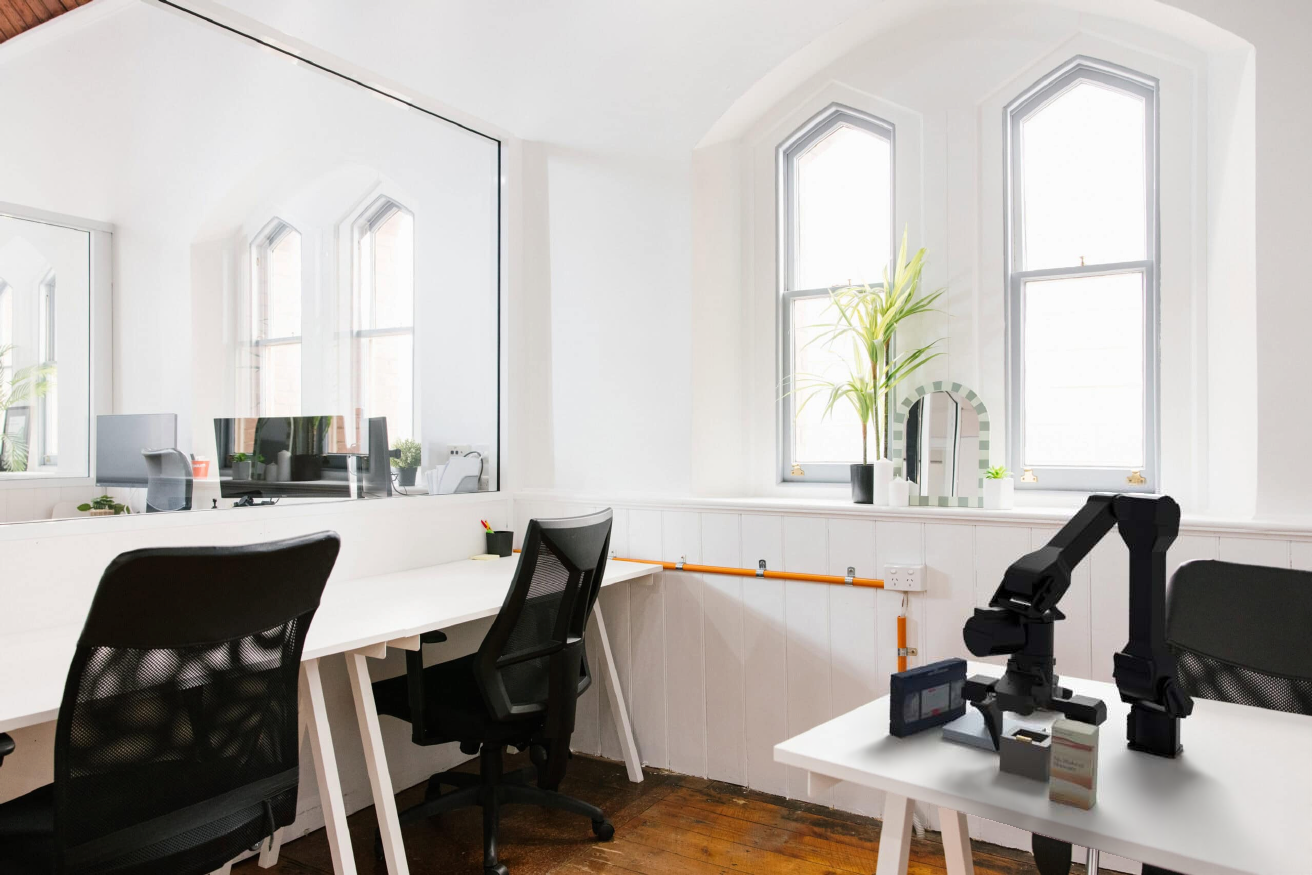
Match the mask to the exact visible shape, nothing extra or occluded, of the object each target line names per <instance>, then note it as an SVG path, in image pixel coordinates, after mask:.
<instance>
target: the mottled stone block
mask: <svg viewBox="0 0 1312 875" xmlns="http://www.w3.org/2000/svg"><path fill="white" fill-rule="evenodd" d="M1059 682H1060V675H1058V674H1055V673H1053V686H1055V693H1054V694H1053V697H1056V698H1061V699H1065V700H1069V699H1070V698H1072V697H1073V696H1074V691H1073V690H1072V689H1070V688H1067V687H1064V686H1060V685H1059ZM1034 710H1039V711H1041V712H1046V713H1054V711H1052V710H1047V709H1043V708H1035V709H1034Z"/></svg>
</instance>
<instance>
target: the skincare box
mask: <svg viewBox="0 0 1312 875" xmlns="http://www.w3.org/2000/svg"><path fill="white" fill-rule="evenodd" d="M1051 733H1052V735H1051V759H1050V780H1049V787H1048V789H1049V790H1048V799H1049V800H1050V801H1053V802H1057V803H1061V804H1064V805H1067V806H1071V807H1075V808H1078V809H1082V810H1085V811H1089V810H1091V808H1092V807H1093V806H1094V804H1095V803H1096V801H1097V793H1098V792H1097V791H1098V789H1097V788H1098V766H1099V763H1098V762H1099V745H1100V744H1099V741H1100V740H1099V739H1100V725H1099V726H1095V725H1091V724H1087V723H1083V722H1079V721H1073V720H1069V719H1066V718H1065V717H1058V718H1057V719H1056V720H1055V721H1054V722H1053V723H1052V725H1051Z"/></svg>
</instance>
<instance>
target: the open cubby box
mask: <svg viewBox="0 0 1312 875" xmlns="http://www.w3.org/2000/svg"><path fill="white" fill-rule="evenodd" d="M1051 735H1052V732H1048V731H1046V732H1044V731H1039V730H1035V729H1031V728H1027V727H1022V726H1018V725H1015V726H1014V727H1012V728H1011V729H1009V730H1008V731H1006V732H1005V733H1003V734H1002V735H1000V752H999V761H998V762H999V768H998V769H999V771H1002V772H1005V773H1009V774H1011V775H1012V774H1013V775H1016V776H1019V777H1022V778H1023V777H1024V778H1027V779H1031V780H1033V781H1038V782H1041V783H1043V784H1044V783H1045V784H1047V783H1048V782H1050V759H1051Z"/></svg>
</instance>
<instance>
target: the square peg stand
mask: <svg viewBox="0 0 1312 875" xmlns="http://www.w3.org/2000/svg"><path fill="white" fill-rule="evenodd" d="M1015 725H1018V726H1022V727H1027V728H1031V729H1035V730H1039V731H1044V732H1047V727H1044V726H1041V725H1036V724H1031V723H1026V722H1024V721H1018V720H1015V719H1010V718H1006V717H1003V733H1005V732H1006V731H1008V730H1009V729H1011V728H1012V727H1014V726H1015ZM941 729H942V730H941V737H942V738H945V739H949V740H952V741H957V742H959V743H964V744H967V745H971V746H976V747H980V748H983V749H986V750H987V749H988V750H990V751H994V752H998V753H1000V751H996V749H995V747H994V744H993V741H992V738H991V735H990V732H989V729H988V726H987V724H986V721H985V719H984V717H983V715H982V714H981V712H980V711H978V710H977V711H976V710H971V711H969V712H966V714H965V715H964V716H962V717H960V718H958V719H957V720H955V721H953V722H950V723H947V724H945V726H944V725H943V726H942V728H941Z"/></svg>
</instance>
